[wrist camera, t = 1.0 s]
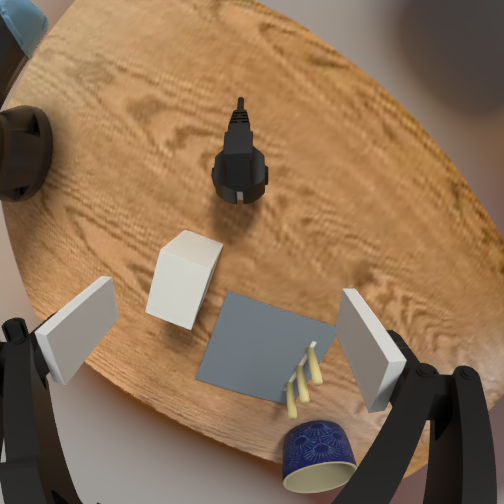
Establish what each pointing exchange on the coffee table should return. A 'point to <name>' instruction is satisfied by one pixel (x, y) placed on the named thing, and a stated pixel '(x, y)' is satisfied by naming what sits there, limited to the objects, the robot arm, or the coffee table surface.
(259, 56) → the coffee table surface
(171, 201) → the coffee table surface
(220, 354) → the board
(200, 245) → the block
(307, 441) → the planter
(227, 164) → the power plug
